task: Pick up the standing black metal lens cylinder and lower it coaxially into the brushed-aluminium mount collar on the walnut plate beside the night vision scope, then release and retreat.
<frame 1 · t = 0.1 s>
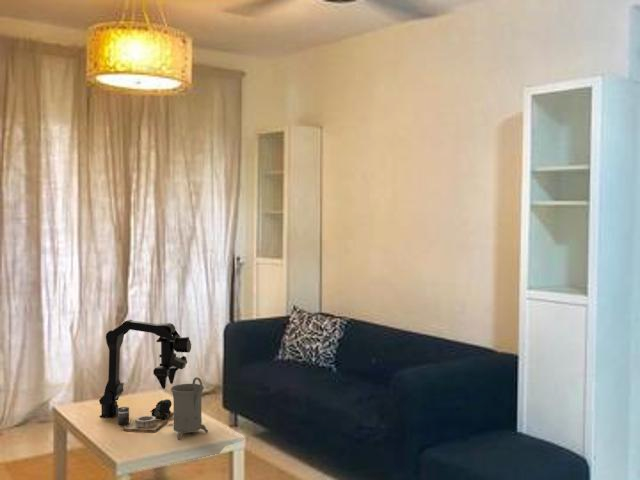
hand: (167, 386, 301), 15 cm above the table, fingers open, 9 cm apart
grey footed pail: (188, 434, 279), on the table
mount plate: (145, 426, 289), on the table
lens: (123, 424, 293), on the table
night vision scope: (162, 417, 303), on the table
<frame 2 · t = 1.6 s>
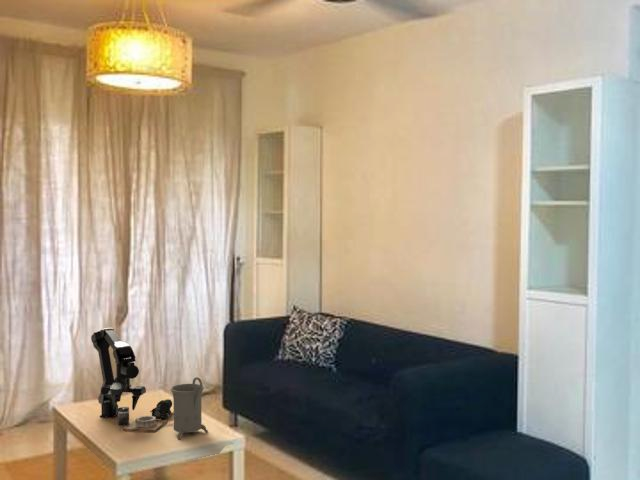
hand: (123, 409, 293), 6 cm above the table, fingers open, 9 cm apart
nothing on the table moved.
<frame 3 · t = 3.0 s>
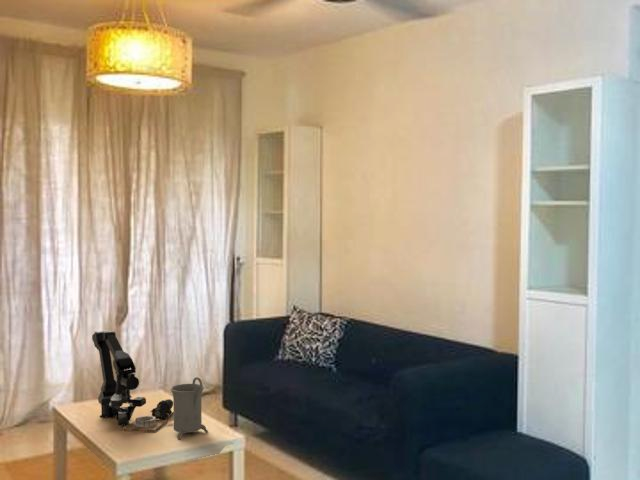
hand: (123, 420, 293), 2 cm above the table, fingers closed on lens, 5 cm apart
lens: (123, 424, 293), on the table, touching gripper
everything else where it was.
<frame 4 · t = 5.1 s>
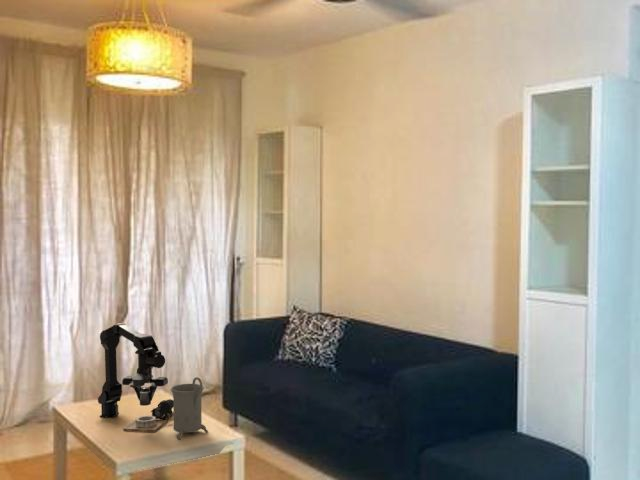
hand: (145, 400, 289), 11 cm above the table, fingers closed on lens, 5 cm apart
lens: (145, 404, 289), point 10 cm above the table, touching gripper
everything else where it was.
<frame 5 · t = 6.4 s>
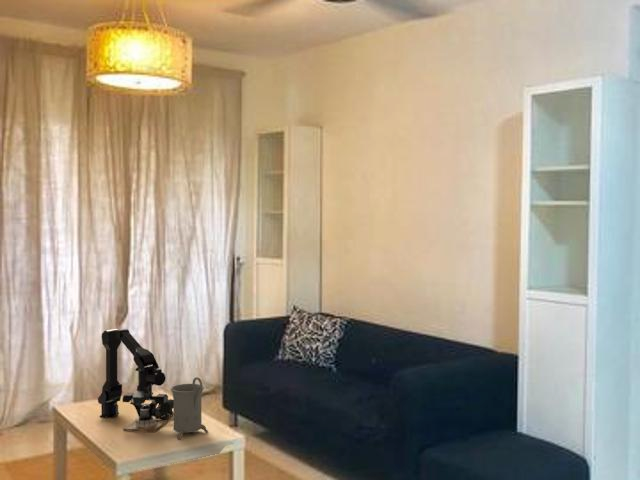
hand: (145, 417, 289), 4 cm above the table, fingers closed on lens, 5 cm apart
lens: (145, 421, 289), point 2 cm above the table, touching gripper
everything else where it was.
when the fingers open (4 cm above the table, at t = 7.1 s): lens drops 1 cm, resting on mount plate.
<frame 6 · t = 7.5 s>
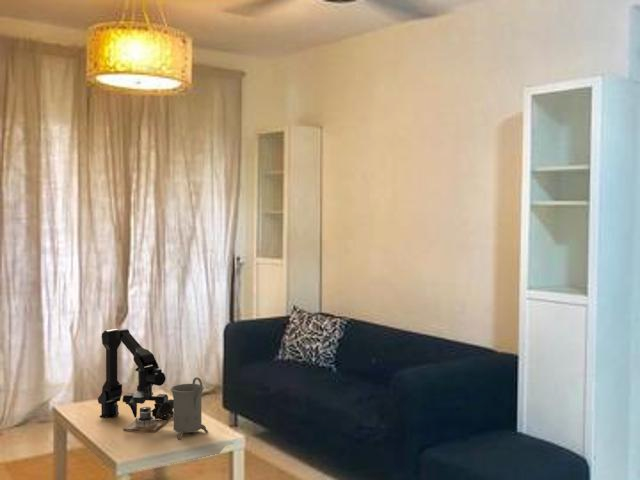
hand: (145, 417, 289), 4 cm above the table, fingers open, 9 cm apart
lens: (145, 424, 289), point 1 cm above the table, touching mount plate
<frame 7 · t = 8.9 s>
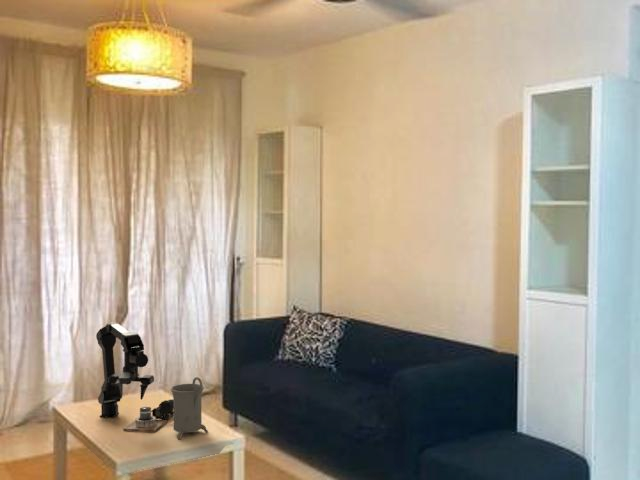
hand: (131, 398, 288), 12 cm above the table, fingers open, 9 cm apart
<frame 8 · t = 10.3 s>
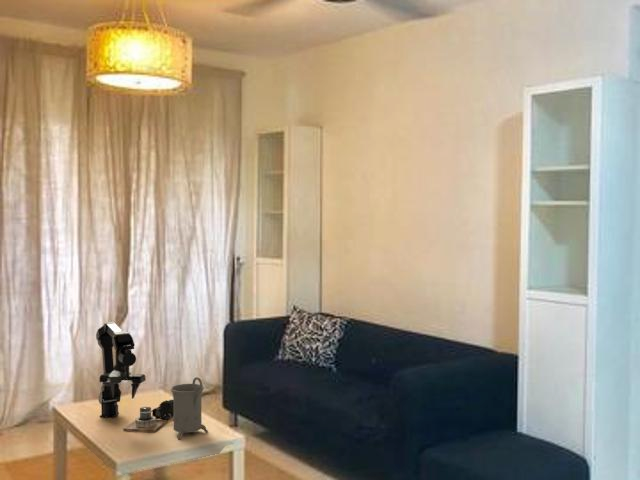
hand: (122, 397, 287), 13 cm above the table, fingers open, 9 cm apart
at the end: lens 0.1 cm off-centre on the mount plate, point 1.0 cm above the mount plate's base; lens tilted 1°; the gripper is holding nothing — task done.
